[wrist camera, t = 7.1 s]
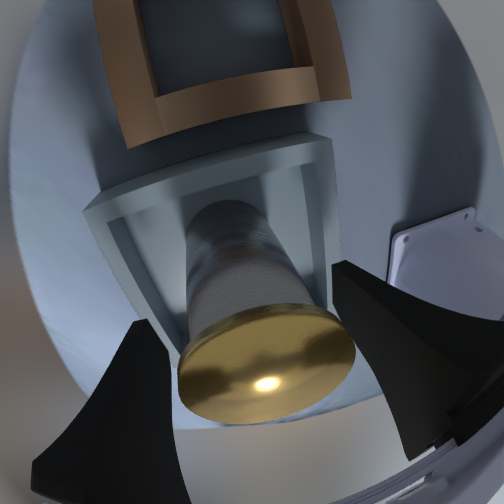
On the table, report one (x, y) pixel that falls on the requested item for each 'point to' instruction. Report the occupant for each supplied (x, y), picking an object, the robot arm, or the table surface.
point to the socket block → (221, 91)
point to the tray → (209, 191)
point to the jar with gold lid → (253, 324)
